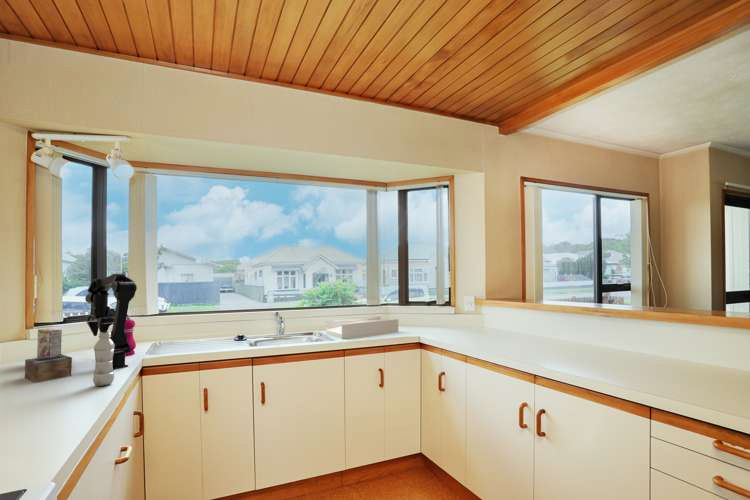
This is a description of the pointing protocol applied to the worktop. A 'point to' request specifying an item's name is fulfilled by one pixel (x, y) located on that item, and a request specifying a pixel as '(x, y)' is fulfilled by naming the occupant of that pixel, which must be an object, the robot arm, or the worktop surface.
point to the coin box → (48, 368)
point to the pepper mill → (130, 335)
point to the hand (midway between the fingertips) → (99, 336)
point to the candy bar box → (49, 342)
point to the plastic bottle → (104, 360)
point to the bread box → (360, 327)
